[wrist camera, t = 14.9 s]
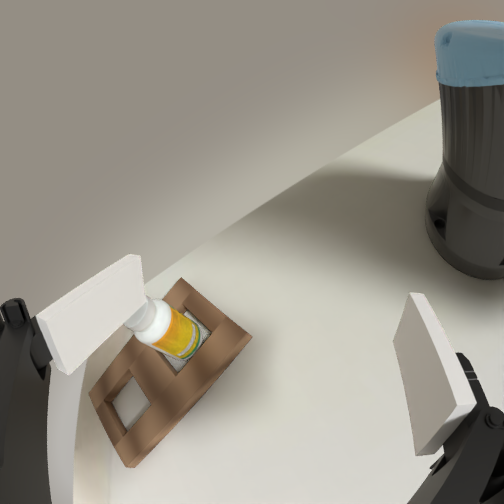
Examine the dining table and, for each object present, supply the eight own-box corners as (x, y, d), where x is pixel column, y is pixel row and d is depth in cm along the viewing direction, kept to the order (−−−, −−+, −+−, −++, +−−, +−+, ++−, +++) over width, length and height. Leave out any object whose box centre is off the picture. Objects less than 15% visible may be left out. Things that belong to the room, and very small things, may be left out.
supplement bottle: (166, 360, 33) (111, 332, 26) (174, 322, 36) (124, 289, 29) (200, 362, 31) (144, 333, 24) (207, 321, 34) (157, 284, 27)
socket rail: (187, 282, 39) (181, 277, 38) (252, 336, 30) (246, 332, 29) (95, 396, 34) (88, 393, 33) (134, 467, 25) (125, 467, 24)
